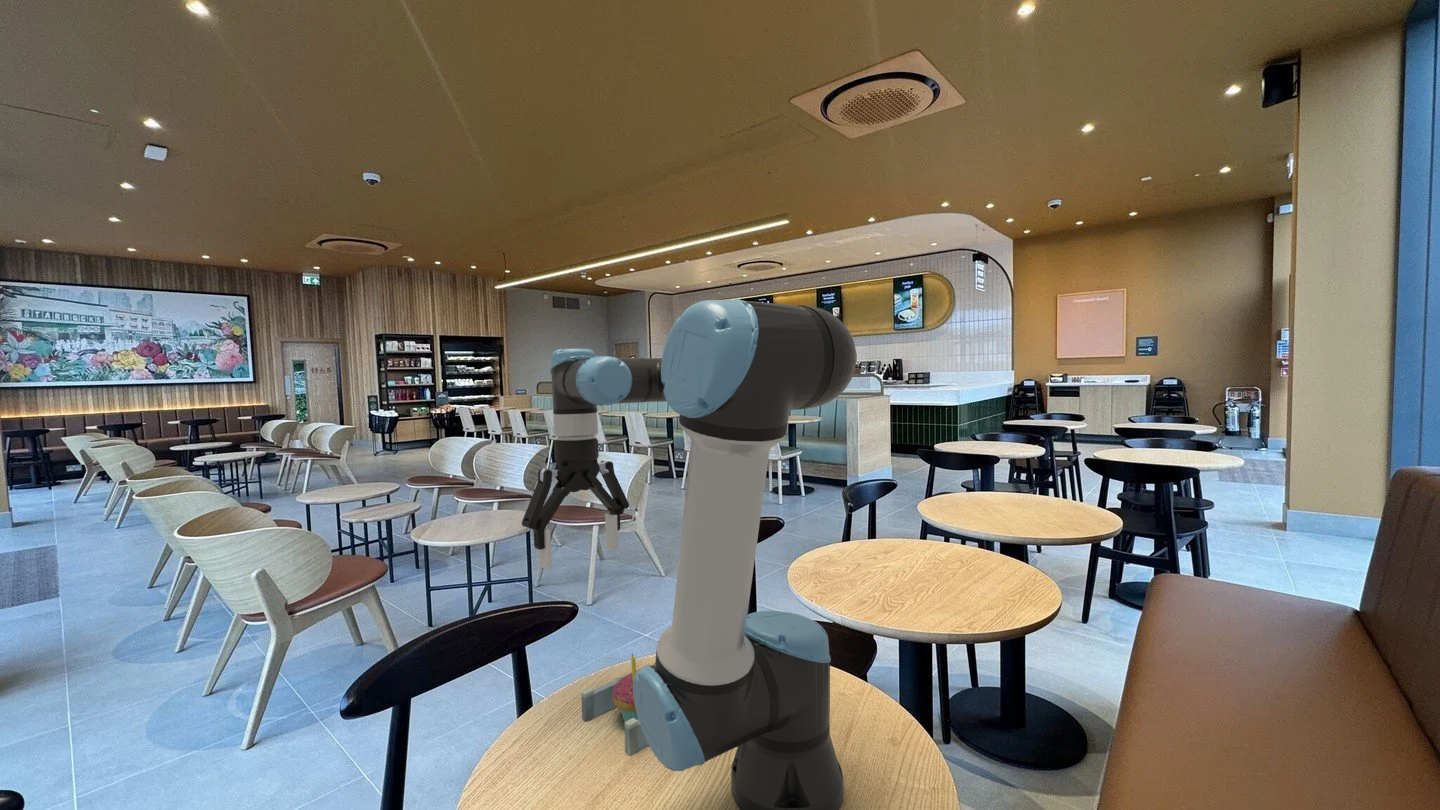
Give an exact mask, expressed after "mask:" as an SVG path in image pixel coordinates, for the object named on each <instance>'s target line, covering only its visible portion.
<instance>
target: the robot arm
mask: <svg viewBox="0 0 1440 810" xmlns="http://www.w3.org/2000/svg"><path fill="white" fill-rule="evenodd" d="M550 365H551V366H550V375H551V391H552V392H551V395H552V414H553V415H552V416H553V419H552V420H553V435H554V436H553V437H555V438H557V439H555V441H553V447H554V449H553V451H554V462H555V467H554V469H547V468H546V469H544V468H540V469H539V470H538V473H537V483H536V485H535V488H534V491H533V493H532V496H531V498H530V501H529V503H528V506H527V508H526V511H525V513H524V515H523V519H522V521H521V526H522V527H523V528H524V527H525V528H528V529H532V530H533V544H534V545H533V546H534V548H535V550H538V566H539V567H541V568H543V569H546V570H551V569H552V543H551V542H552V541H551V529H550V528H547V526H548V524H549V523H550V521H552V518H553V517H554V515H555V514H556V512H557V511H558V509H559V507H560V505H561V504H562V502H563V501H564V499H565V498H566V497H567V496H569V495H570V493H578V492H579V491H589V490H590V491H591V493H592V494H593V495H594V497H596V498H597V499H598V500H599V502H600V503H601V504H602V505H603V506H604V507H605V508H606V510H607V511H608V512H607V513H604V522H605V523H604V525H605V549H606V550H611V551H614V552H616V551H619V533H618V532H619V531H620V530H621V515H623V514H624V513H625V509H628V508H630V503H629V501H628V499H627V497H626V495H625V491H624V490H623V488H622V485H621V484H620V482H619V480H618V477H617V476H616V473H615V469H614V468H615V467H614V463H613V461H609V460H601V461H600V462H599V463H598V458H599V455H600V454H599V452H600V451H599V439H598V438H597V437H596V436H598V434H599V423H598V421H599V420H598V406H600V407H601V406H610V405H611V406H612V405H615V404H617V405H618V404H619V405H620V404H635V403H636V404H637V403H639V404H640V403H642V404H643V403H660V402H662V403H665V402H666V403H667V404H668V405H669V407H670V408H671V409H672V411H674V412H675V413H677V414H678V415H679V416H678V417H679V418H678V425H679V427H680V428H681V429H682V431H684V433H685V435H687V436H688V437H689V439H690V447H689V457H688V467H687V475H686V476H687V477H686V485H685V486H686V487H685V493H684V494H685V495H684V497H685V498H684V504H683V507H684V508H683V515H682V522H681V525H682V526H681V533H680V534H681V535H680V544H679V545H680V546H679V555H678V565H677V573H676V582H675V583H676V584H675V593H674V601H673V603H674V604H673V611H672V622H671V626H669V627H668V628H666V629H665V630H664V631H663V632H662V633H661V635H660V636H659V638H658V640H657V645H656V652H655V662H654V663H653V664H652V665H651V666H647V665H645V666H643V667H644V668H643V667H642V668H643V669H641V668H640V669H641V670H640V671H638V672H637V673H636V675H635V677H634V681H633V696H634V703H635V708H636V712H637V716H638V719H639V722H640V725H641V728H642V731H643V733H644V736H645V738H646V740H647V742H648V744H649V745H648V746H649V748H650V750H651V752H652V753H653V754H654V756H655V758H656V759H657V760H658V761H659V762H660V764H661V765H663V766H664V767H665V768H666V769H668V770H670V771H673V772H677V771H678V772H683V771H686V770H687V769H691V768H693V767H696V766H702V765H704V764H705V763H707V762H708V761H710V760H712V759H714V758H717V757H720V756H721V755H722V754H725V753H728V752H729V751H731V750H733V749H735V748H737V749H736V751H735V755H734V758H733V761H732V764H731V770H730V771H731V772H730V784H731V785H730V787H731V788H730V789H731V795H732V798H733V799H734V801H735V804H736V805H737V806H738V807H739V809H740V810H839V809H840V807H841V806H842V803H843V800H844V776H843V775H844V774H843V769H842V767H841V764H840V762H839V760H838V758H837V755H836V751H835V748H834V744H833V741H832V737H831V731H830V730H831V727H830V723H831V721H830V719H831V717H830V716H831V713H830V710H831V708H830V707H831V704H830V703H831V702H830V701H831V699H830V698H831V693H830V692H831V660H832V658H831V655H830V647H829V645H830V643H829V636H828V633H827V631H826V630H825V628H823V626H822V625H821V624H819V623H818V622H817V621H815V620H813V619H811V618H809V617H807V616H804V615H801V614H797V613H794V612H793V613H792V612H788V611H781V610H762V611H761V610H759V611H754V612H751V613H749V614H748V612H749V605H750V598H751V597H750V596H751V592H752V591H751V590H752V583H753V574H754V567H755V561H756V554H757V553H756V552H757V545H758V537H759V530H760V523H761V515H762V510H763V509H762V508H763V501H764V493H765V488H766V487H765V486H766V479H767V472H768V471H767V470H768V465H769V464H768V463H769V458H770V450H771V449H772V448H773V447H775V446H776V445H778V444H779V443H780V442H782V441H783V440H784V439H785V438H787V437H786V436H787V431H788V423H789V417H790V411H796V410H808V409H813V408H817V407H821V406H824V405H826V404H828V403H830V402H832V401H833V400H834V399H836V398H838V397H839V396H840V395H841V394H842V393H843V392H844V391H845V390H846V388H847V387H848V385H849V384H850V383H851V381H852V379H853V376H854V373H855V371H856V365H857V349H856V345H855V341H854V338H853V335H852V334H851V332H850V330H849V329H848V327H847V326H846V324H844V323H843V322H842V321H841V320H840V319H839V317H837V316H836V315H834V314H832V313H831V312H830V311H827V310H825V309H822V308H819V307H815V306H810V305H800V304H799V305H795V304H783V303H772V302H771V303H770V302H762V301H750V300H748V301H747V300H741V299H739V298H735V299H732V298H731V299H712V300H711V299H709V300H708V299H707V300H702V301H699V302H696V303H693V304H692V305H690V306H689V307H688V308H686V309H685V310H684V311H683V312H682V314H681V316H680V317H678V318H677V319H676V320H675V322H674V323H673V325H672V327H671V328H670V331H669V333H668V335H667V338H666V341H665V344H664V347H663V351H662V356H661V357H652V358H651V357H648V358H647V357H646V358H644V357H643V358H642V357H614V356H609V355H605V356H604V355H603V356H602V355H598V356H597V355H596V354H595V352H594V351H593V350H592V349H591V348H563V349H561V348H560V349H556V350H554V351H553V352H552V354H551V364H550ZM599 473H600V474H601V476H602V478H603V480H604V483H605V485H606V487H607V489H608V491H609V493H610V494H609V493H608V491H607V489H606V488H604V486H603V484H602V483H601V481H600V480H599V479H598V474H599ZM555 479H556V480H557V482H556V484H555V485H554V486H553V488H552V493H550V495H549V497H548V494H549V492H550V489H551V486H552V483H553V482H554V481H555ZM547 498H548V499H547Z"/></svg>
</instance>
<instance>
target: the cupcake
mask: <svg viewBox="0 0 1440 810" xmlns="http://www.w3.org/2000/svg"><path fill="white" fill-rule="evenodd" d="M630 661H631V662H630V663H631V673H632V674H629V673H628V674H629V675H627V674H626V675H627V676H625V675H624V676H625V677H623V676H622V677H623V678H621V677H619V678H620V680H619V681H618V682H617V684H616V685H615V686H614V688H613V695H612V697H613V702H614V704H615V706H616V707H615V708H617V709H619V710H620V712H621V715H622V717H623V722H624V723H625V722H626V721H628V720H630V719H632V718H635V719H636V720H637V719H638V716H637V712H636V708H635V703H634V696H633V681H634V677H635V675H636V673H637V672H636V670H637V665H636V656H634V653H631V657H630Z"/></svg>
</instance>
